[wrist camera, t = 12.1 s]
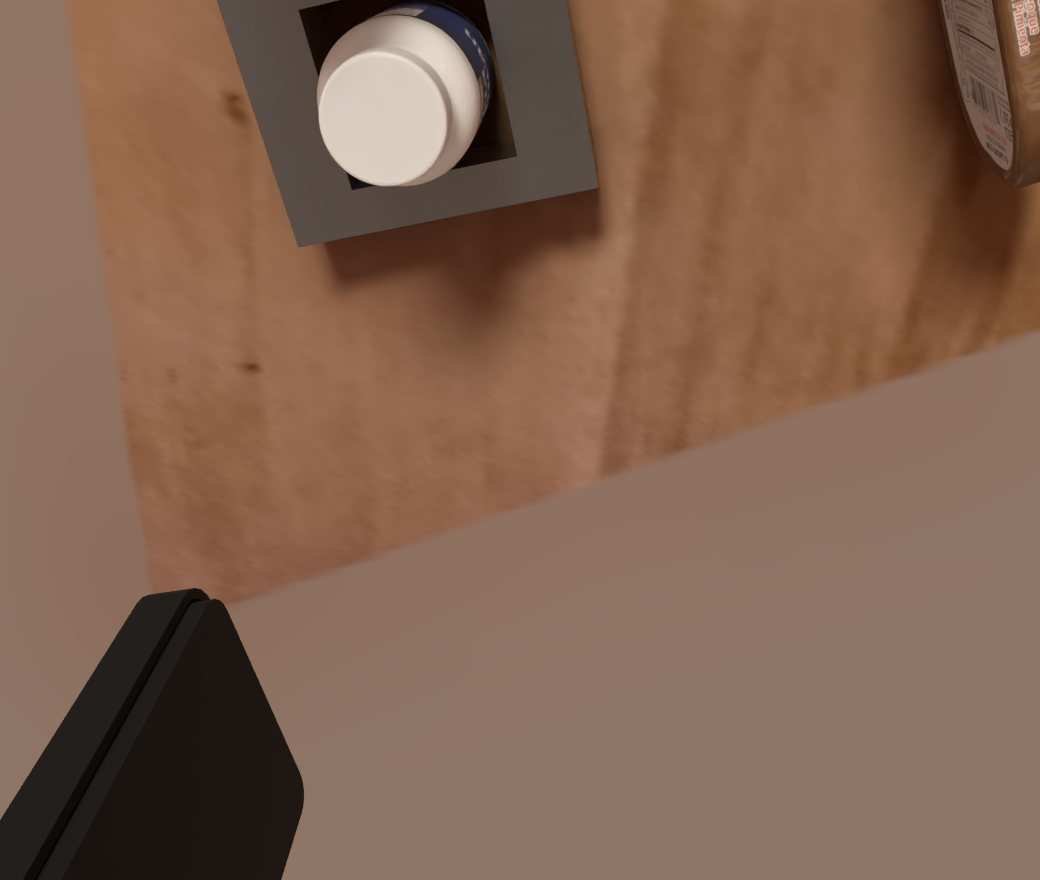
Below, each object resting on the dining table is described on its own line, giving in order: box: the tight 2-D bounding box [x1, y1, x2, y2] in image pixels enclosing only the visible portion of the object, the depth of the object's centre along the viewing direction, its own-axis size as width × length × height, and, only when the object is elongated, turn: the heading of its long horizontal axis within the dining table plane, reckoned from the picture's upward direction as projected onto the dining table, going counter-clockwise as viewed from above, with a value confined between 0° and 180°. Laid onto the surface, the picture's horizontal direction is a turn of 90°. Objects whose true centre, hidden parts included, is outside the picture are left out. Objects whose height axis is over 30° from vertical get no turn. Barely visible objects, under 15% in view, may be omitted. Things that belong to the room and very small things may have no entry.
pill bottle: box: [317, 0, 494, 186], centre depth 34 cm, size 5×5×10 cm
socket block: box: [217, 0, 598, 247], centre depth 37 cm, size 12×10×3 cm
